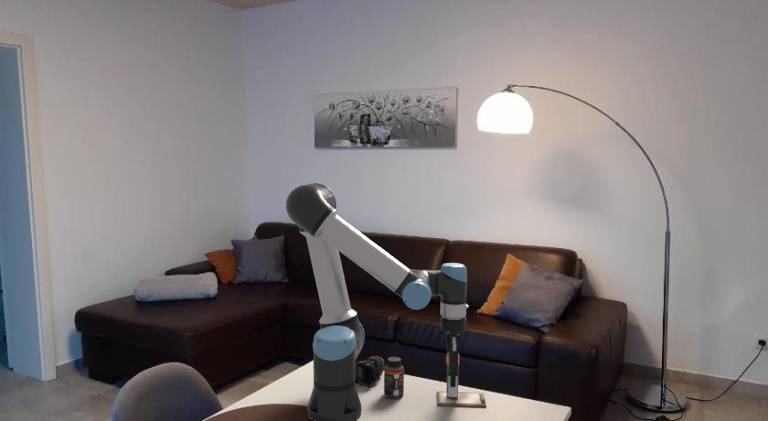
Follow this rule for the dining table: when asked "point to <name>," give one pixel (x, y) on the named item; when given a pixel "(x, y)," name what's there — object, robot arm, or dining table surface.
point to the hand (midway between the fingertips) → (452, 393)
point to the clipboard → (462, 399)
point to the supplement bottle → (394, 378)
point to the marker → (447, 377)
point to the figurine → (368, 370)
